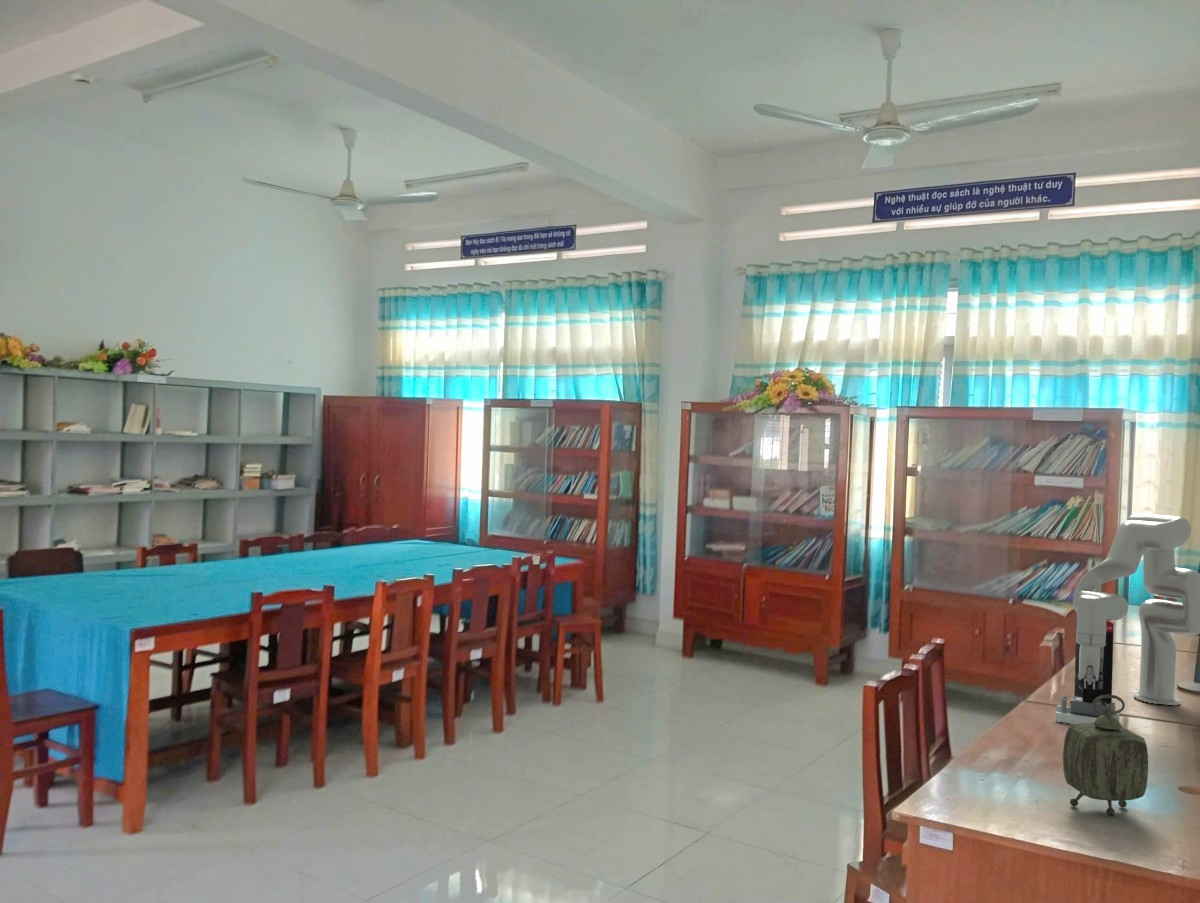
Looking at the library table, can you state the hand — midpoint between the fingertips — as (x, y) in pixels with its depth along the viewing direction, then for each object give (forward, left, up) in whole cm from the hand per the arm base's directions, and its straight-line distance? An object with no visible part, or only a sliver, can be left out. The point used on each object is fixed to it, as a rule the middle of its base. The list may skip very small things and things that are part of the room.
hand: (1089, 698), depth 275 cm
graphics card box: (-21, +1, -7) cm, 23 cm away
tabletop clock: (+77, +4, -7) cm, 77 cm away
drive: (0, 0, -6) cm, 6 cm away
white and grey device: (+1, 0, -7) cm, 7 cm away
